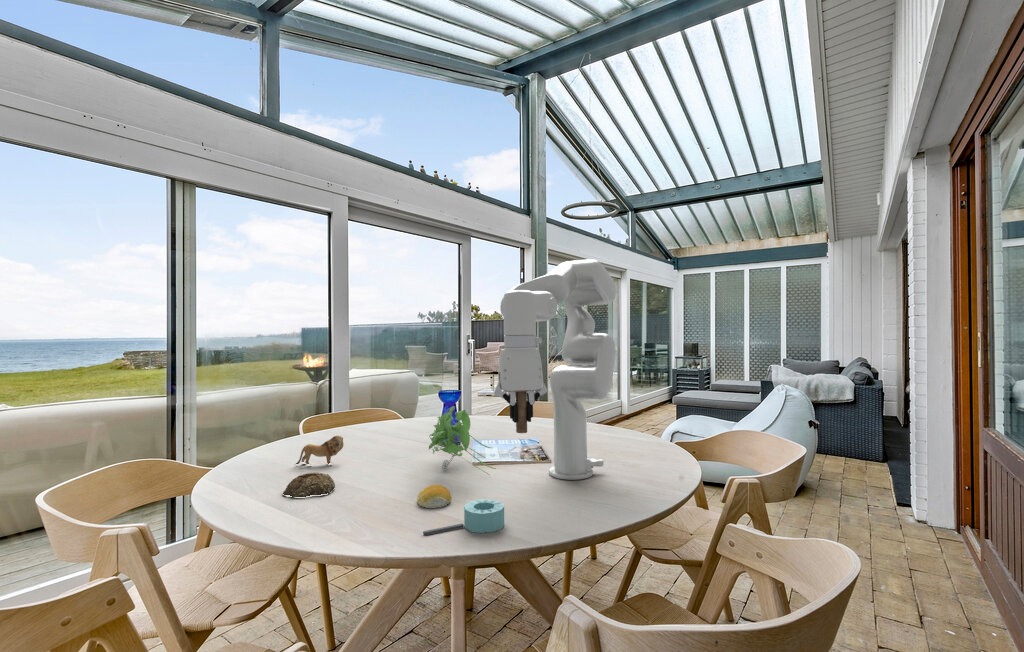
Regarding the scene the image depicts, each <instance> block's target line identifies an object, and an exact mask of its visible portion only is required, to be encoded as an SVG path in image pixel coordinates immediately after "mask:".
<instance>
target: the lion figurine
mask: <svg viewBox="0 0 1024 652" xmlns="http://www.w3.org/2000/svg"><path fill="white" fill-rule="evenodd" d="M344 445H345V444H344V437H343V436H342V435H334V436H333V437H331V438H330V439H328V440H326V441H325V442H324V443H322V444H318V445H317V444H312V443H311V444H310V443H309V444H306V445H304V446H303V448H302V449H301V453H300V456H299V459H298V460H297V462H296V463H295V464H298V465H299V464H300V463H301V462H305V463H306V464H305V465H307V464H310V462H309V461H310V459H311V456H312V455H313V456H314V457H317V458H323V457H326V458H325V459H326V464H327V463H328V464H329V463H330V462H331V458H332V457H335V456H336V455H337V454H338V453H340V452H341V451H342V449H343V448H344Z"/></svg>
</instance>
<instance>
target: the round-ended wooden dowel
mask: <svg viewBox="0 0 1024 652" xmlns="http://www.w3.org/2000/svg"><path fill="white" fill-rule="evenodd" d="M515 402H516V405H517V407H518V422H517V423H515V428H516V429H515V431H516V432H515V433H516V434H526V433H528V421H527V391H524V392H516V396H515Z"/></svg>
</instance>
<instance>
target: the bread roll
mask: <svg viewBox="0 0 1024 652" xmlns="http://www.w3.org/2000/svg"><path fill="white" fill-rule="evenodd" d="M451 501H452V495H451V492H450V490H449V489H448V488H447V487H446V486H445V485H440V484H431V485H428V486H426V487H425V488H423V489H422V490H421V491H419V493H418V495H417V497H416V502H417V504H418V505H419V506H420V507H421V506H422V508H424V507H425V509H436V508H435V507H440V508H443V506H444V507H446V506H448V505H449V504H450V503H451ZM447 504H448V505H447Z"/></svg>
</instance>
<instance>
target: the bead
mask: <svg viewBox="0 0 1024 652" xmlns="http://www.w3.org/2000/svg"><path fill="white" fill-rule="evenodd" d="M463 511H464V512H463V516H464V520H463V522H464V523H463V525H464V529H465V530H467V531H469V532H471V533H478V534H485V532H487V533H494V532H497V531H499V530H501V529H502V528H504V526H505V505H504V503H503V502H501V501H499V500H497V499H487V498H485V499H484V498H483V499H475V500H472V501H468V502H467V503H466V504H465V505H464V506H463ZM496 530H497V531H496ZM493 531H494V532H493Z"/></svg>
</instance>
